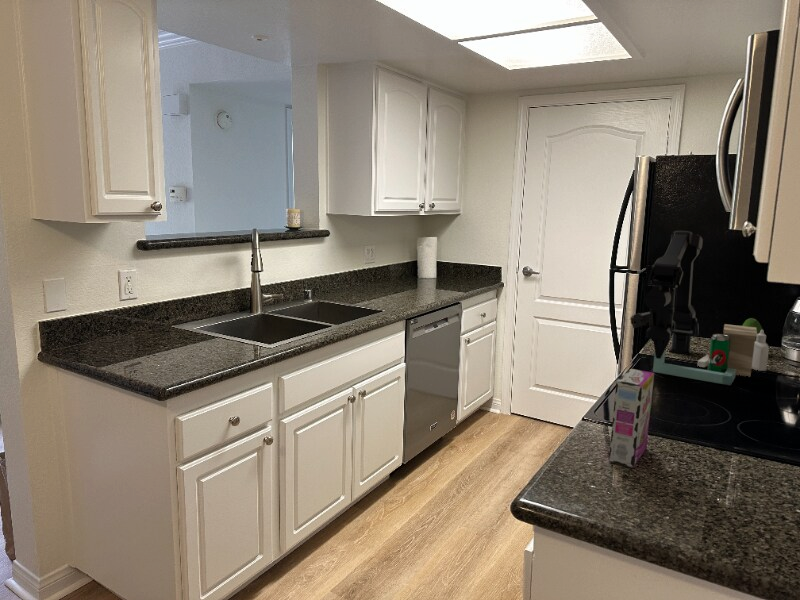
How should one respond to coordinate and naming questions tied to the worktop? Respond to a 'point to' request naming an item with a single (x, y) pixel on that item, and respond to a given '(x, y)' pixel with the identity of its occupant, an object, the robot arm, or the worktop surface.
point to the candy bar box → (631, 417)
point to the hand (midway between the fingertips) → (658, 357)
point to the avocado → (753, 325)
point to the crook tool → (693, 372)
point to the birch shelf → (741, 348)
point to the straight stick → (703, 361)
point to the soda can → (719, 353)
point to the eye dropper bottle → (760, 352)
